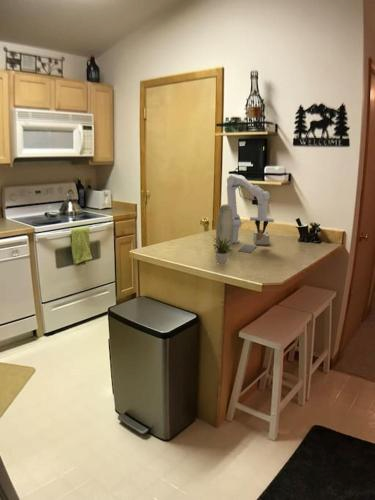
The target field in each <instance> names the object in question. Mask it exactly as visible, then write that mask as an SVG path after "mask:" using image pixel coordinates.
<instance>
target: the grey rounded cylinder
mask: <svg viewBox="0 0 375 500" xmlns="http://www.w3.org/2000/svg"><path fill="white" fill-rule="evenodd" d="M218 210H219V212H218V217H217V221H216V230H215V231H216V232H215V233H216V235H215V239H216V240H217V241H218V242H219V240H218V238H217V236H219V238H220V241H223V243H224V241H225V238H226V242H227V241H229V240H230V239H231V238H232V239H231V240H230V241H229V242H228V243H227V245H230V246H231V247H232V246H233V243H232V241H233V219H234V218H232V209H231V207H230V206H229V205H228V204H221V206H220V207H219V209H218ZM222 239H224V240H222ZM216 240H215V242H216V243H217V241H216ZM226 242H225V243H226ZM216 243H215V244H216ZM216 245H218V243H217V244H216ZM230 246H228V247H229V249H231V247H230ZM218 247H219V245H218ZM228 247H227V248H228ZM219 248H220V247H219Z"/></svg>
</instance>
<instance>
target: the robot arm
mask: <svg viewBox="0 0 375 500" xmlns="http://www.w3.org/2000/svg"><path fill="white" fill-rule="evenodd" d="M226 185H227V186H226V196H227V205H229V206H230V207H231V209H232V218H233V237H234V238H233V241H232V244H233V243H234V244H237V243H239V242H240V239H239V230H240V227H241V226H242V220H241V217H240V215H239V214H238V208H237V207H238V206H237V196H236V195H237V193H236V190H237V189H238V188H239V187H241V186H243V187H245V188H246V189H248V190H249V193H250V194H252V195H253V196H254V197H255V198H256V199H257V216H253V217H252V216H250V217H249V221H250V222H251V221H252V222H253V221H254V224H255V226H256V231H259V230H261V229H260V227H261V226H260V225H261V222H262V225H263V226H262V227H263V228H262V230H263V233H264V232H265V231H266V228H267V226H268V224H269V223H274V222H275V219H274V218H270V217H269V218H268V203H269V200H270V199H271V194H270V192H269V191H268V190H264V189H263V188H261V187H259V184H254V185H253V183H252V182H250V181H249V180H248V179H246V177H245V176H243V175H242V174H237V175H232V174H231V175H229V176H228V177H227V179H226Z"/></svg>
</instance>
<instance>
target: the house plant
mask: <svg viewBox="0 0 375 500" xmlns="http://www.w3.org/2000/svg"><path fill="white" fill-rule="evenodd" d="M210 236H211V237H212V235H210ZM217 238H218V240H219V242H218V241H217V240H216V238H215V237H213V238H212V241H213V242H214V243H213V244H212V246H213V247H214V249H213V250H216V251H215V261H216V264H217V263H219V264H218V265H226V264H227V261H228V257H229V250H230V248H231V247H232V245H231V246H230V245H227V243H228V242H229V241H230V240H231V239H232V238H231V239H230V240H229V241H227V242H226V238H225V241H224V243H223V241H220V238H219V236H217ZM233 238H234V237H233ZM222 240H224V239H222ZM216 241H217V243H218V245H219V247H220V248H219V247H218V245H217V243H216ZM225 242H226V243H225ZM228 246H230V248H229V247H228ZM227 247H228V248H227ZM225 263H226V264H225Z"/></svg>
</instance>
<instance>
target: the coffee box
mask: <svg viewBox="0 0 375 500" xmlns="http://www.w3.org/2000/svg"><path fill="white" fill-rule="evenodd" d="M257 233H258V231H257V229H256V230H253V241H254V245H257V246H259V245H263V246H264V245H265V246H268V245H270V234H269V232H268V231H267V233H266V235H265V236H263V237H262V238H261V240H257Z"/></svg>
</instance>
